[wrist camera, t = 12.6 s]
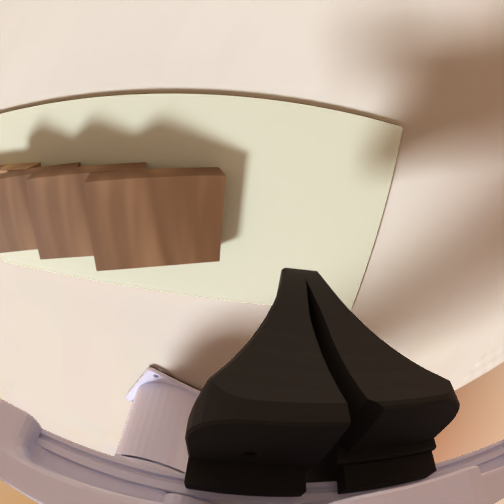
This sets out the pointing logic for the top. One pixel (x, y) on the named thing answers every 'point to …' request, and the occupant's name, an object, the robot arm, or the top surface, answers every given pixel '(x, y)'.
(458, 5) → the top surface
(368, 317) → the top surface
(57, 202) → the domino
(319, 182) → the sage mat
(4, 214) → the domino
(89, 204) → the domino
